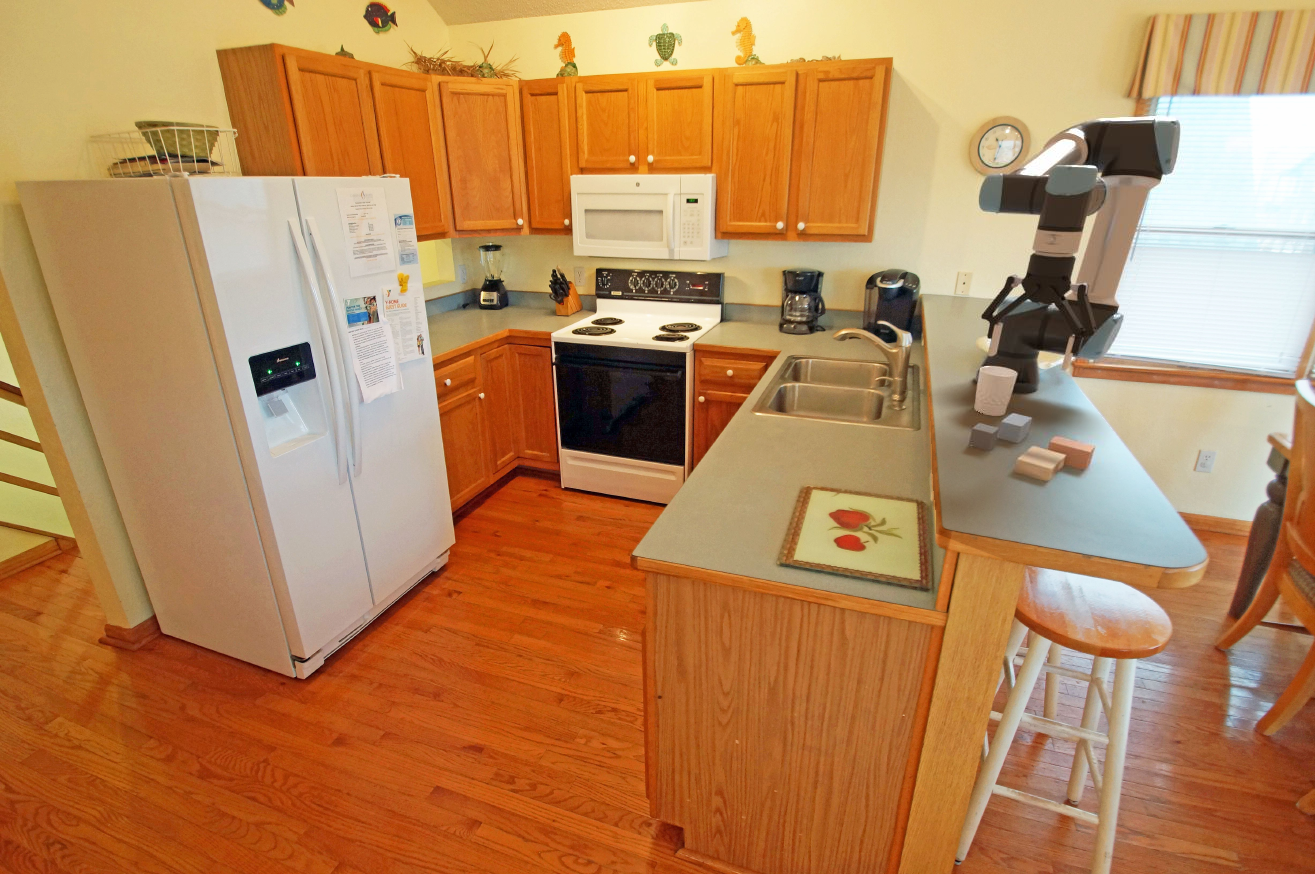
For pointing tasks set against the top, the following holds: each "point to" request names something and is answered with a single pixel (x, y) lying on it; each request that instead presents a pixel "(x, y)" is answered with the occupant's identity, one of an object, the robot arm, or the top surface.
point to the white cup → (994, 390)
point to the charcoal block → (984, 436)
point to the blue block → (1014, 427)
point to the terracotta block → (1073, 451)
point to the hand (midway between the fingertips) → (1027, 361)
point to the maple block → (1040, 463)
